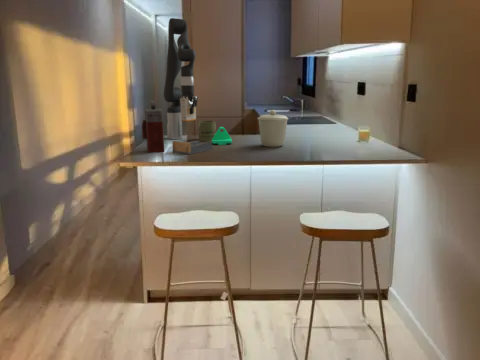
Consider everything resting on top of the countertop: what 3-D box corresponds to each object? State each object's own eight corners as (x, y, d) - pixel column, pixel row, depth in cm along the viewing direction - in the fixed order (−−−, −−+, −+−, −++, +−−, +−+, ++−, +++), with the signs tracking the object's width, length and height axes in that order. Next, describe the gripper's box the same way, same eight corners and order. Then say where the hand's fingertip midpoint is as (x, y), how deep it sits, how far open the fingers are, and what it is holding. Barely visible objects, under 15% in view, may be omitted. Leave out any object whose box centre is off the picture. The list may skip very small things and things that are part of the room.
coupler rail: (172, 152, 254) (172, 141, 253) (197, 147, 269) (196, 137, 268) (188, 154, 247) (188, 143, 245) (212, 149, 262) (212, 138, 261)
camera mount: (212, 145, 277) (211, 128, 274) (212, 143, 284) (211, 126, 282) (232, 144, 277) (231, 128, 275) (231, 142, 285) (231, 126, 282)
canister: (251, 146, 271) (251, 110, 266) (270, 142, 284) (270, 108, 279) (275, 149, 259) (275, 112, 254) (294, 145, 272) (294, 109, 267)
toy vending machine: (143, 150, 261) (139, 100, 254) (162, 149, 263) (160, 100, 257) (143, 153, 252) (140, 101, 245) (164, 152, 255) (161, 101, 248)
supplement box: (190, 119, 275) (189, 97, 272) (196, 120, 272) (195, 97, 269) (180, 120, 269) (179, 98, 266) (186, 121, 266) (185, 98, 263)
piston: (200, 122, 286) (196, 121, 296) (201, 141, 289) (196, 139, 299) (217, 122, 289) (213, 120, 300) (218, 140, 292) (213, 138, 303)
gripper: (174, 84, 267) (175, 113, 271) (192, 85, 259) (192, 115, 263) (183, 84, 273) (184, 112, 277) (200, 84, 264) (201, 114, 269)
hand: (188, 113), depth 270 cm, fingers closed on supplement box, 5 cm apart
